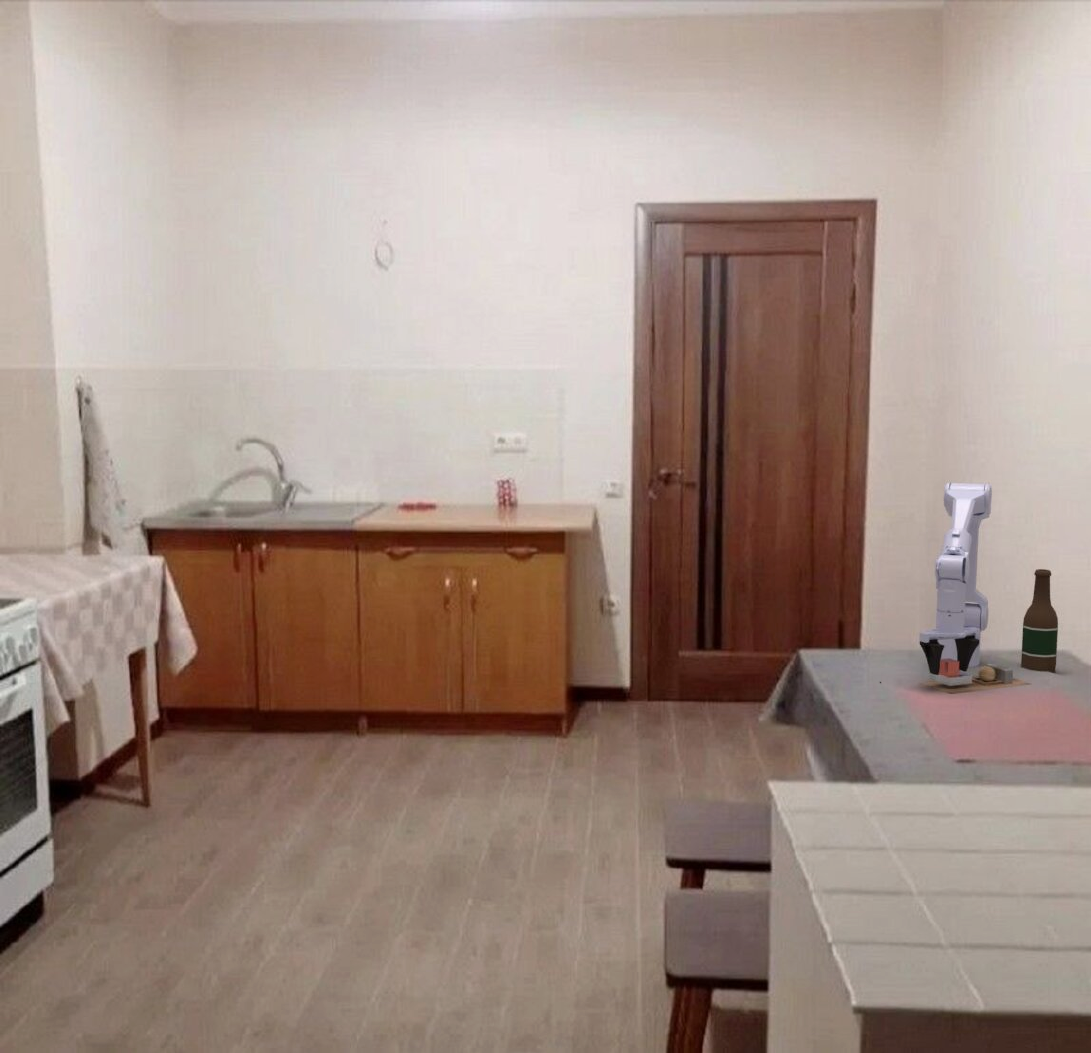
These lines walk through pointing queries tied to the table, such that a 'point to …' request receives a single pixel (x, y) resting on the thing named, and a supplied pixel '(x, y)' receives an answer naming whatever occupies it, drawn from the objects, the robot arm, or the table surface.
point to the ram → (952, 673)
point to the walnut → (987, 674)
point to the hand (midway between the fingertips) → (948, 672)
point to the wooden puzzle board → (981, 682)
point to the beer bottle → (1040, 628)
